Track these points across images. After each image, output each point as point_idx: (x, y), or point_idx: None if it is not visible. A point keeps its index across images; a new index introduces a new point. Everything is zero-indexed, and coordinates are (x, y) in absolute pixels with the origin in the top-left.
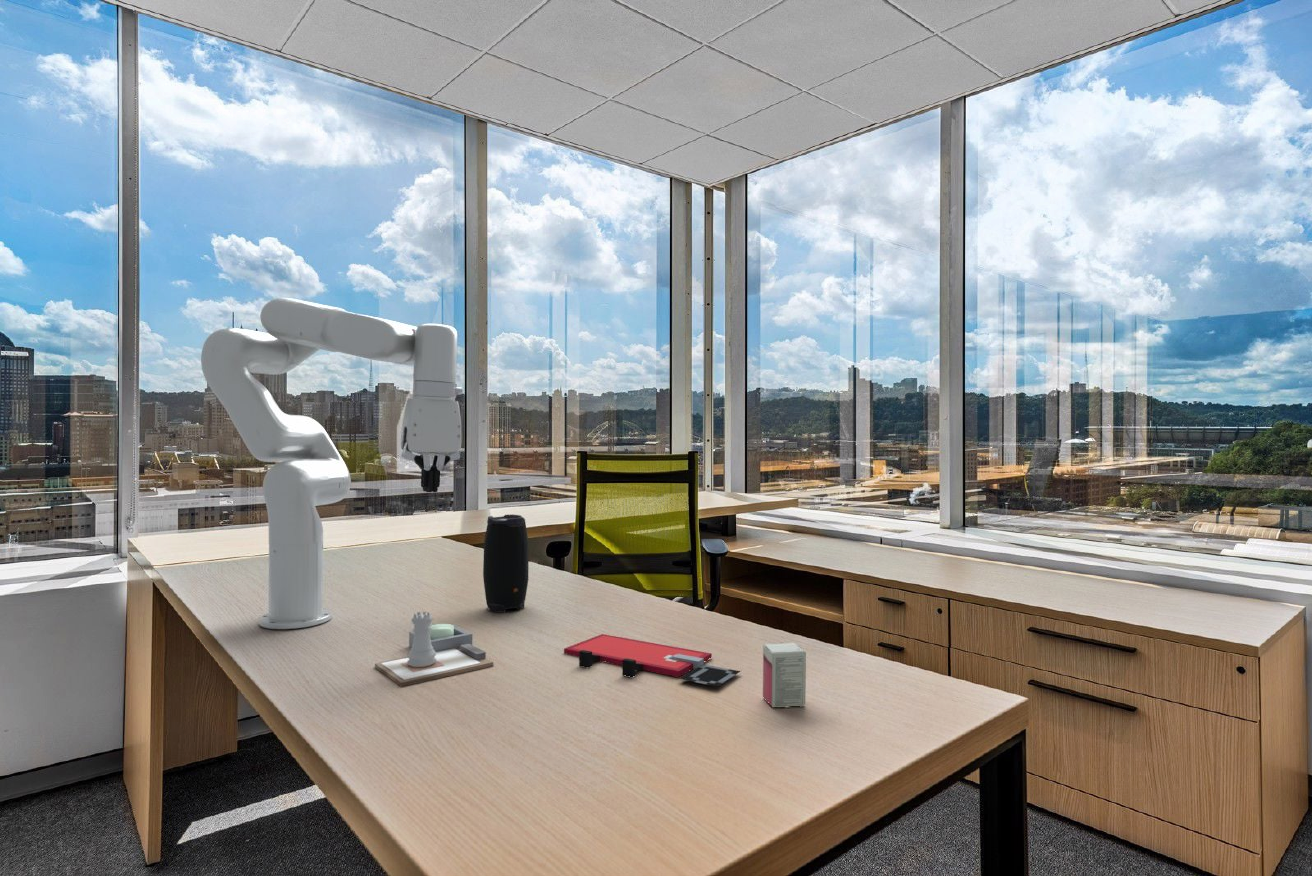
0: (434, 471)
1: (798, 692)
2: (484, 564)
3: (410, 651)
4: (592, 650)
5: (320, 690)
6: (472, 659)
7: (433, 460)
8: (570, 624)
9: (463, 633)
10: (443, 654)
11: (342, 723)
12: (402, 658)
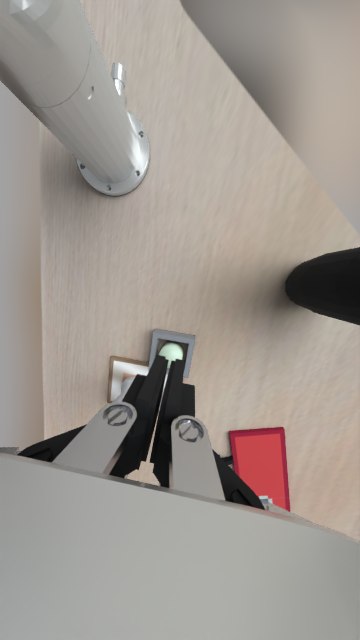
0: (151, 462)
1: None
2: (317, 271)
3: (122, 386)
4: (240, 451)
5: (68, 369)
6: None
7: (169, 473)
8: (299, 381)
9: (184, 370)
10: None
11: (62, 421)
12: (131, 361)
